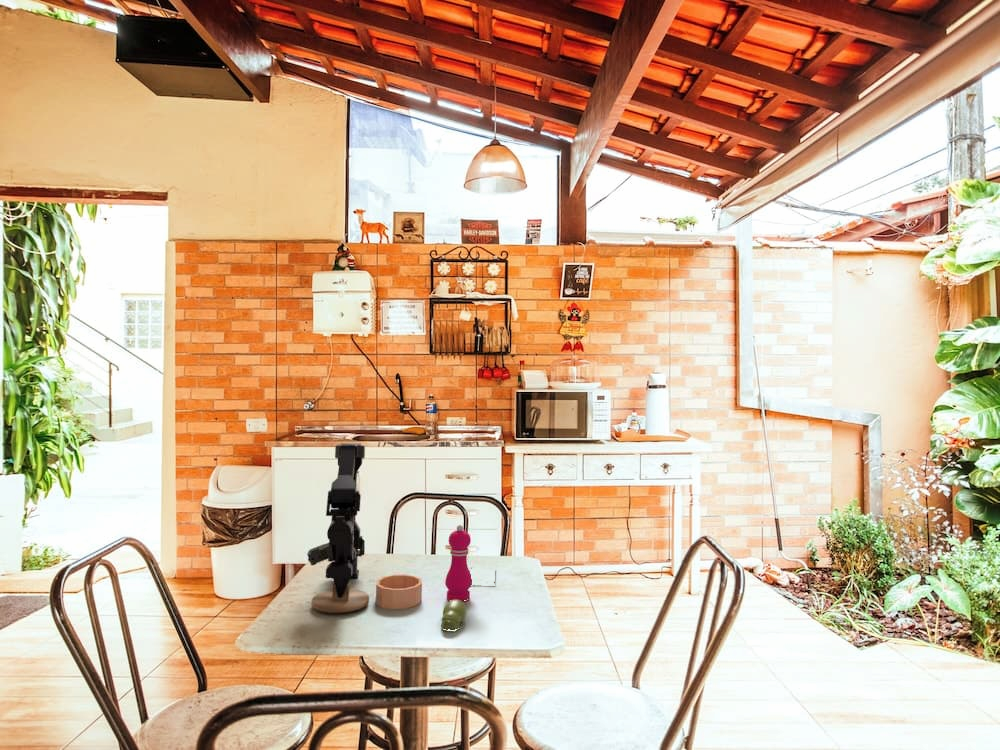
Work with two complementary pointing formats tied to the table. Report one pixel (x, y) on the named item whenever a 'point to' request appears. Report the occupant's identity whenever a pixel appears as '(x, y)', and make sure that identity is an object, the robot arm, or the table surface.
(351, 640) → the table surface
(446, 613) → the pear
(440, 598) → the table surface
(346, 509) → the robot arm
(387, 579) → the terracotta bowl
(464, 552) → the pepper mill
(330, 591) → the walnut lid
